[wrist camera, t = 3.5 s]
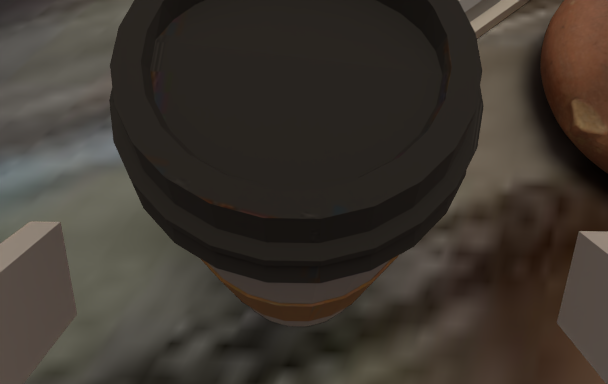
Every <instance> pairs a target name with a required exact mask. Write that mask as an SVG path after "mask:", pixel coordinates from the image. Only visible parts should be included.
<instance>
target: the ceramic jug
mask: <svg viewBox="0 0 608 384" xmlns="http://www.w3.org/2000/svg"><path fill="white" fill-rule="evenodd" d="M540 67H541V77H542V83H543V87H544V91H545V95H546V97H547V101H548V103H549V105H550V107H551V110H552V112H553V114H554V116H555V118H556V120H557V122H558V123H559V125H560V126H561V128H562V130H563V131H564V132H565V134H566V135H567V136H568V138H569V139H570V140H571V141H572V142H573V144H574V145H575V146H576V147H577V148H578V149H579V150H580V151H581V152H582V153H583V154H584V155H585V156H586V157H587V158H588V159H589V160H591V161H592V162H593V163H594V164H595V165H597V166H598V167H599V168H601V169H602V170H603V171H605V172H606V173H608V0H564V1H563V2H562V4H561V5H560V7H559V8H558V9H557V11H556V12H555V14H554V15H553V17H552V19H551V21H550V23H549V25H548V28H547V30H546V33H545V37H544V41H543V45H542V51H541V65H540Z"/></svg>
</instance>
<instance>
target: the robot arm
mask: <svg viewBox="0 0 608 384" xmlns="http://www.w3.org/2000/svg"><path fill="white" fill-rule="evenodd" d="M76 315H77V311H76V306H75V300H74V294H73V289H72V283H71V278H70V272H69V266H68V261H67V255H66V250H65V244H64V238H63V233H62V227H61V222H35V221H30V222H29V223H28V224H26V225H25V226H23V227H22V228H21V229H19V230H18V231H17V232H15V233H14V234H13V235H11V236H10V237H9V238H7V239H6V240H5V241H3V242H2V243H1V244H0V384H23V383H24V382H25V381H26V379H27V378H28V377H29V376H30V374H31V373H32V372H33V370H34V369H35V368H36V367H37V365H38V364H39V363H40V361H41V360H42V359H43V357H44V356H45V355H46V354H47V352H48V351H49V350H50V348H51V347H52V346H53V345H54V343H55V342H56V341H57V339H58V338H59V337H60V335H61V334H62V333H63V332H64V330H65V329H66V328H67V326H68V325H69V324H70V323H71V321H72V320H73V319H74V317H75V316H76ZM557 324H558V325H559V326H560V327H561V328H562V330H563V331H564V332H565V333H566V335H567V336H568V337H569V338H570V340H571V341H572V342H573V343H574V345H575V346H576V347H577V348H578V349H579V351H580V352H581V353H582V354H583V356H584V357H585V358H586V359H587V361H588V362H589V363H590V364H591V365H592V367H593V368H594V369H595V370H596V372H597V373H598V374H599V375H600V377H601V378H602V379H603V380H604V381H605V383H606V384H608V232H592V231H579V234H578V238H577V242H576V246H575V250H574V254H573V258H572V263H571V267H570V271H569V275H568V279H567V283H566V287H565V291H564V296H563V300H562V304H561V308H560V312H559V316H558V320H557Z"/></svg>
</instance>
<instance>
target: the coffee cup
mask: <svg viewBox="0 0 608 384" xmlns="http://www.w3.org/2000/svg"><path fill="white" fill-rule="evenodd" d="M110 68H111V78H112V91H111V96H110V110H111V120H112V130H113V140H114V144H115V146H116V148H117V150H118V152H119V155H120V157H121V159H122V161H123V163H124V166H125V168H126V170H127V172H128V175H129V177H130V179H131V181H132V183H133V186H134V188H135V190H136V192H137V195H138V197H139V199H140V201H141V203H142V206H143V208H144V209H145V210H146V211H147V213H148V214H149V215H150V216H151V217H152V218H153V219H154V220H155V221H156V223H157V224H158V225H159V226H160V227H161V228H162V229H163V230H164V231H165V233H166V234H167V235H168V236H169V237H170V238H171V239H172V240H173V241H174V243H176V244H178V245H179V246H181V247H182V248H184V249H186V250H187V251H189V252H191V253H192V254H194V255H196V256H197V257H199V258H200V259H201V260H202V261H203V262H204V263H205V264H206V265H207V266H208V267H209V269H210V270H211V271H212V272H213V273H214V274H215V275H216V276H217V277H218V278H219V280H220V281H221V282H222V283H224V284H225V285H226V286H227V287H228V288H229V289H230V290H231V291H232V292H233V293H234V294H235V295H236V296H237V297H238V298H239V299H240V300H241V301H242V302H243V303H245V304H246V305H248V306H250V307H251V308H252V309H253V310H254V311H255V312H257V313H258V314H260V315H262V316H263V317H265V318H266V319H268V320H270V321H272V322H276V323H279V324H282V325H286V326H310V325H314V324H318V323H322V322H325V321H327V320H329V319H331V318H332V317H334V316H336V315H337V314H339V313H341V312H342V311H343V310H344V309H345V308H346V307H347V306H349V305H351V304H352V303H353V302H354V301H355V300H356V299H357V298H358V297H359V296H360V295H361V294H362V293H363V292H364V291H365V290H366V289H367V288H368V287H369V286H370V285H371V284H372V283H373V281H374V280H375V279H376V278H377V277H378V276H379V275H380V274H381V273H382V272H383V271H384V270H385V269H386V268H387V267H388V266H389V265H390V264H391V263H392V262H393V261H394V260H395V259H396V258H397V257H398V255H399V254H401V253H403V252H405V251H407V250H408V249H410V248H412V247H414V246H415V245H416V244H417V243H418V242H419V241H420V240H421V239H422V238H423V236H424V235H425V234H426V233H427V232H428V231H429V230H430V229H431V228H432V227H433V226H434V225H435V224H436V223H437V222H438V221H439V220H440V219H441V218H442V217H443V216H444V215H445V214H446V213H447V211H448V209H449V207H450V205H451V203H452V201H453V199H454V197H455V195H456V193H457V191H458V189H459V187H460V185H461V183H462V181H463V179H464V177H465V175H466V169H467V167H468V165H469V163H470V161H471V159H472V157H473V155H474V153H475V151H476V149H477V146H478V139H479V132H480V126H481V119H482V112H483V101H482V95H481V89H480V81H481V74H482V67H481V62H480V56H479V50H478V45H477V39H476V33H475V31H474V29H473V27H472V25H471V24H470V22H469V20H468V18H467V16H466V14H465V12H464V10H463V8H462V6H461V4H460V2H459V0H134V2H133V4H132V5H131V7H130V9H129V11H128V12H127V14H126V16H125V17H124V19H123V21H122V23H121V24H120V26H119V29H118V33H117V37H116V42H115V46H114V50H113V55H112V59H111V63H110Z"/></svg>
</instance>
